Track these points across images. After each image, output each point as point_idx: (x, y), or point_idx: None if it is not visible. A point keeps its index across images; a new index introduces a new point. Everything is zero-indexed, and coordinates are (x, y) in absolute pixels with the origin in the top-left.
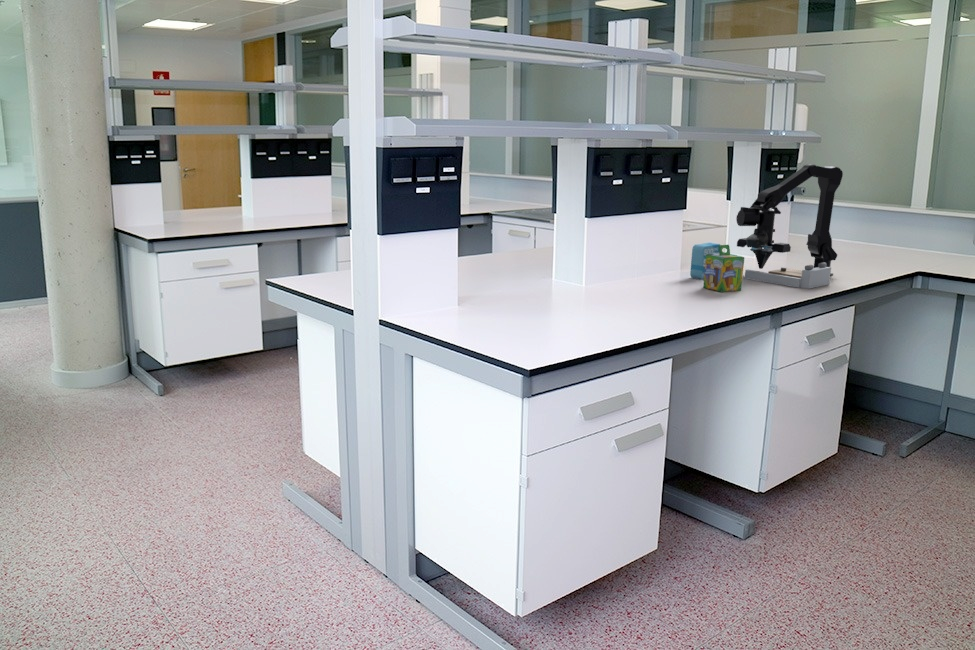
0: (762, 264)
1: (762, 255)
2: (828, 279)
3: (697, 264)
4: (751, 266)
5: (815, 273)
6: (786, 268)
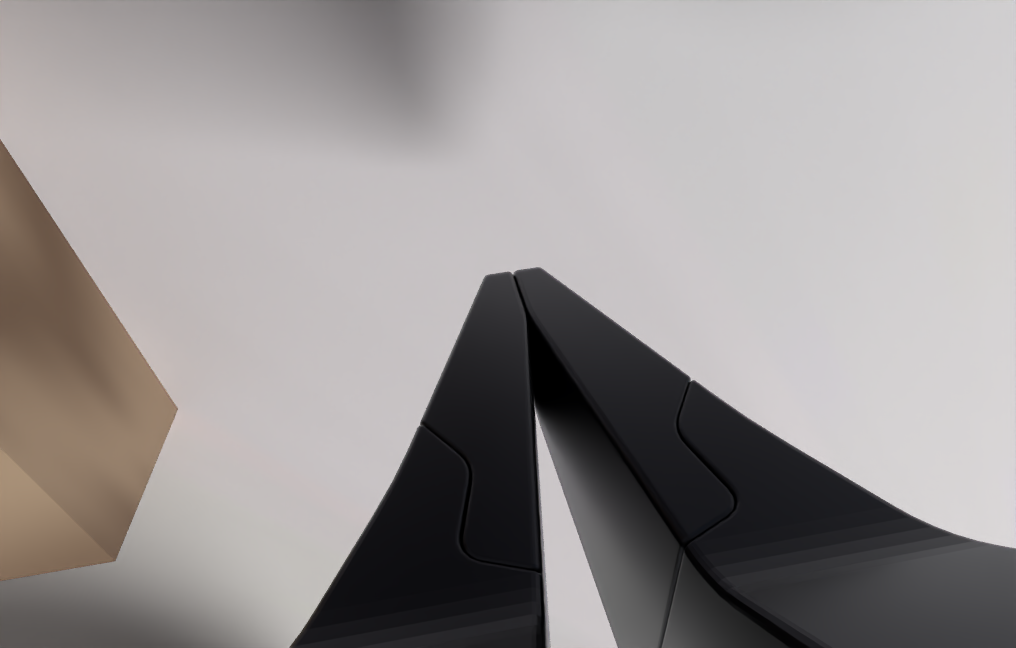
0: (457, 343)
1: (466, 594)
2: None
3: None
4: None
5: None
6: (80, 565)
